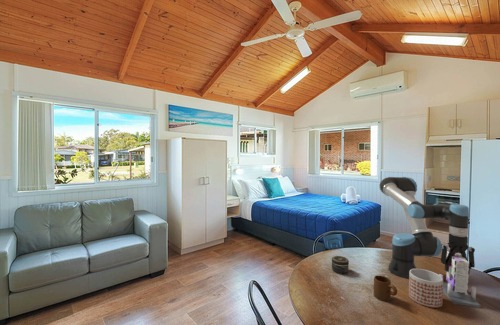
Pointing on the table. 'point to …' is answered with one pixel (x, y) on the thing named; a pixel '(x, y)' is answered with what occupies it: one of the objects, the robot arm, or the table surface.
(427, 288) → the planter
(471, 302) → the tray
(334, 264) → the jar
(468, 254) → the robot arm
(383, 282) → the mug
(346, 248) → the table surface
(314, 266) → the table surface
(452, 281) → the candy box
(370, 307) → the table surface
